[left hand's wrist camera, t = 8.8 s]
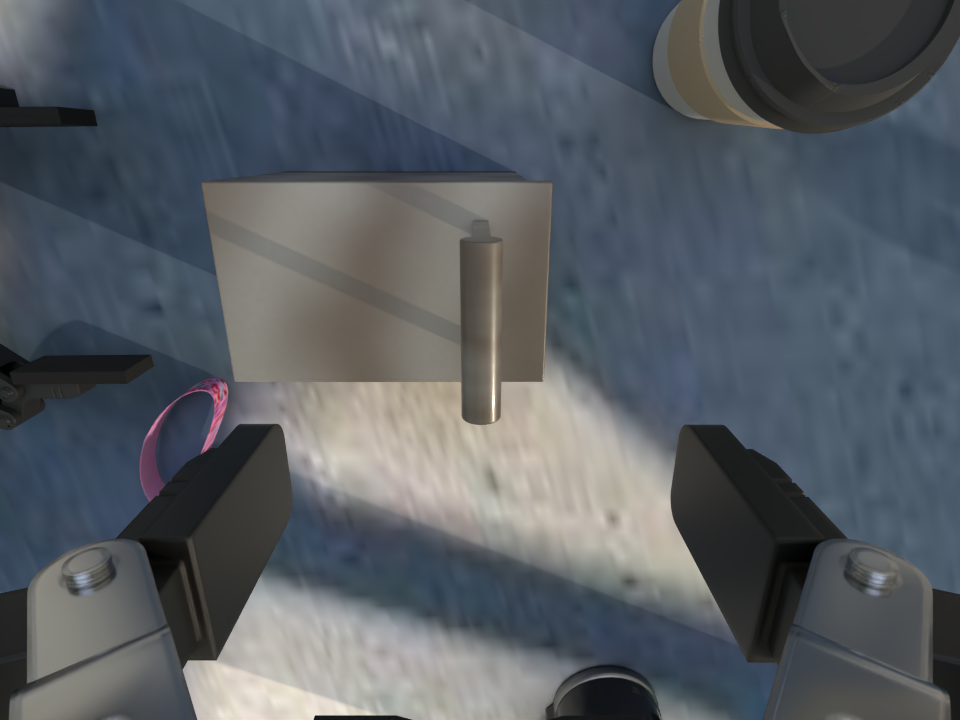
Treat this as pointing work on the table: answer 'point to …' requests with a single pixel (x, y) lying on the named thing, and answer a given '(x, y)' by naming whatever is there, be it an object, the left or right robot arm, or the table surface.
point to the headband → (148, 455)
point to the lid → (385, 282)
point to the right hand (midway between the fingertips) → (112, 252)
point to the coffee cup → (800, 59)
